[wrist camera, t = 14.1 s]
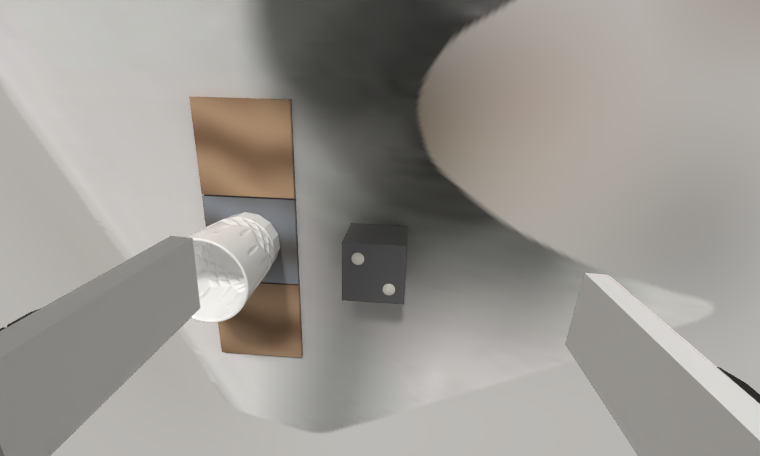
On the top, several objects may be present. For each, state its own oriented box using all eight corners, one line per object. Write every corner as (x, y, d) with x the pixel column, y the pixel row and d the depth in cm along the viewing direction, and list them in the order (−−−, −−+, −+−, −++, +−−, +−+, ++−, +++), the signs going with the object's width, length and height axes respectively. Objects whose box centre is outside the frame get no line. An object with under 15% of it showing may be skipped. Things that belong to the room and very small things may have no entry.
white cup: (203, 247, 41) (142, 289, 31) (236, 191, 38) (180, 219, 29) (263, 285, 42) (221, 338, 32) (299, 234, 39) (264, 274, 30)
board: (192, 96, 36) (189, 96, 36) (291, 99, 36) (289, 99, 35) (224, 349, 46) (222, 351, 45) (302, 355, 45) (301, 357, 45)
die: (350, 223, 39) (340, 242, 34) (407, 225, 39) (407, 246, 33) (350, 273, 41) (341, 300, 35) (404, 276, 41) (403, 304, 35)
